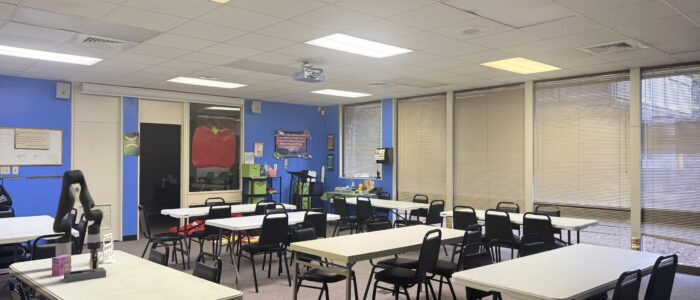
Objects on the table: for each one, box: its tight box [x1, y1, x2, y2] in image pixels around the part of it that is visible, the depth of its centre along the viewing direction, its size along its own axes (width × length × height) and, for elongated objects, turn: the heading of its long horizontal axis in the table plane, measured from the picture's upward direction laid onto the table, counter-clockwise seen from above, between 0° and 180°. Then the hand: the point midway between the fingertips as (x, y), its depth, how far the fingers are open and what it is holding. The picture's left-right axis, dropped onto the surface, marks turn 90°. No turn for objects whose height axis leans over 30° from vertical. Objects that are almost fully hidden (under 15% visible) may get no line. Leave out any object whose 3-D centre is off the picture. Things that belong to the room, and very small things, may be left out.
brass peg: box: [89, 258, 99, 271], centre depth 310 cm, size 5×5×10 cm
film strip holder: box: [98, 232, 123, 265], centre depth 355 cm, size 14×14×20 cm
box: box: [51, 254, 72, 277], centre depth 317 cm, size 10×6×12 cm, turn 168°
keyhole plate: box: [63, 267, 107, 283], centre depth 307 cm, size 22×12×4 cm, turn 126°
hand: (94, 267), depth 310 cm, fingers closed on brass peg, 4 cm apart
